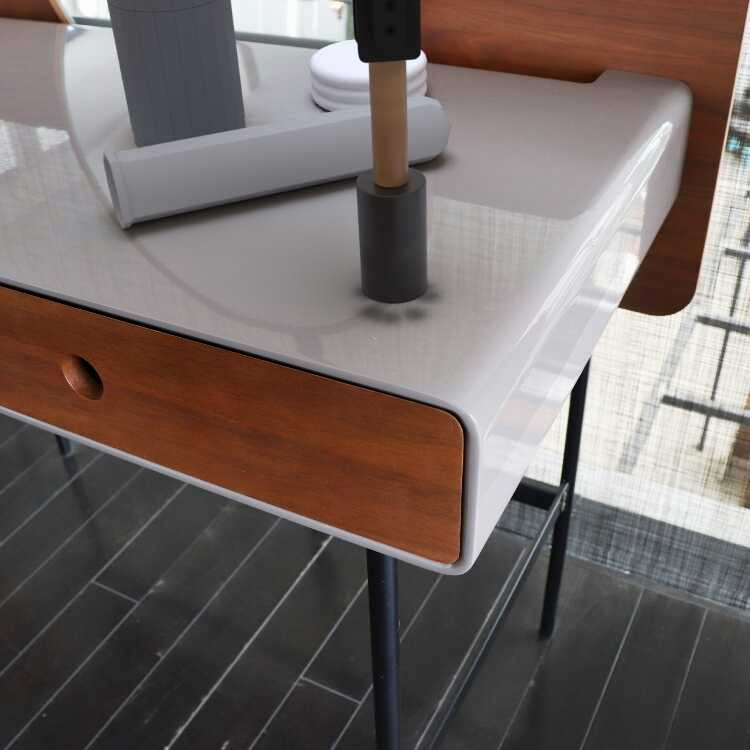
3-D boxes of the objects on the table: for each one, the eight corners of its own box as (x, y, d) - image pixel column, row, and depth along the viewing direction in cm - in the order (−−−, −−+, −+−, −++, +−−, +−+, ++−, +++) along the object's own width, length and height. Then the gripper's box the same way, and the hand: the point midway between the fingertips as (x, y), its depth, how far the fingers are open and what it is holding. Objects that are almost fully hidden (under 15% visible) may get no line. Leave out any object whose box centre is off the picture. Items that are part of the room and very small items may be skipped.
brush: (364, 305, 59) (345, -51, 47) (359, 271, 62) (340, -70, 50) (431, 300, 59) (429, -56, 47) (422, 266, 63) (418, -75, 51)
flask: (128, 160, 77) (90, -29, 69) (140, 115, 84) (107, -60, 76) (245, 151, 78) (221, -37, 69) (246, 108, 85) (225, -68, 77)
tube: (426, 87, 76) (99, 148, 69) (457, 87, 71) (108, 152, 64) (436, 157, 78) (117, 224, 71) (466, 162, 73) (127, 234, 66)
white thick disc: (441, 109, 83) (441, 68, 81) (323, 124, 81) (320, 82, 79) (410, 69, 91) (409, 30, 89) (302, 82, 89) (299, 43, 87)
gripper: (280, -384, 48) (310, 10, 58) (284, -393, 35) (322, 113, 46) (436, -392, 48) (437, 1, 59) (497, -403, 35) (484, 102, 46)
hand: (386, 47), depth 52 cm, fingers closed on brush, 2 cm apart
